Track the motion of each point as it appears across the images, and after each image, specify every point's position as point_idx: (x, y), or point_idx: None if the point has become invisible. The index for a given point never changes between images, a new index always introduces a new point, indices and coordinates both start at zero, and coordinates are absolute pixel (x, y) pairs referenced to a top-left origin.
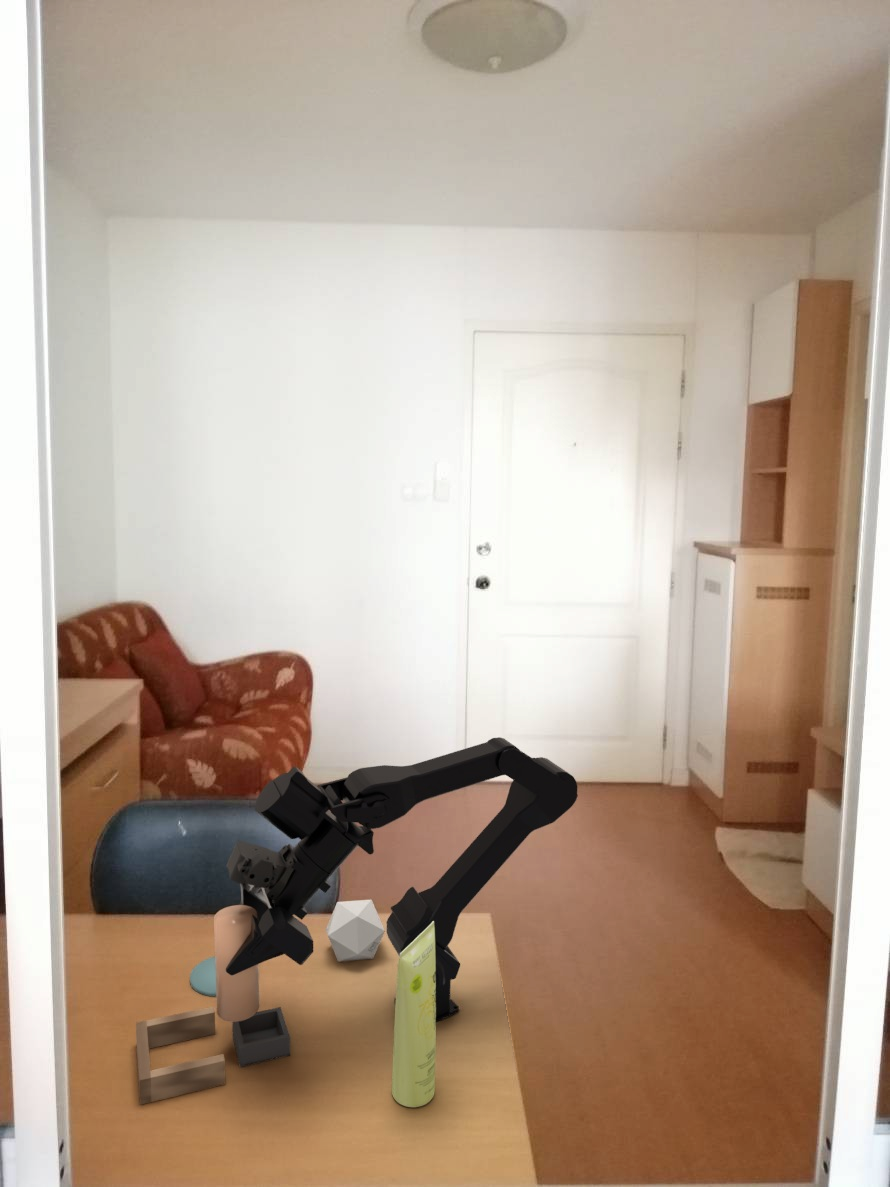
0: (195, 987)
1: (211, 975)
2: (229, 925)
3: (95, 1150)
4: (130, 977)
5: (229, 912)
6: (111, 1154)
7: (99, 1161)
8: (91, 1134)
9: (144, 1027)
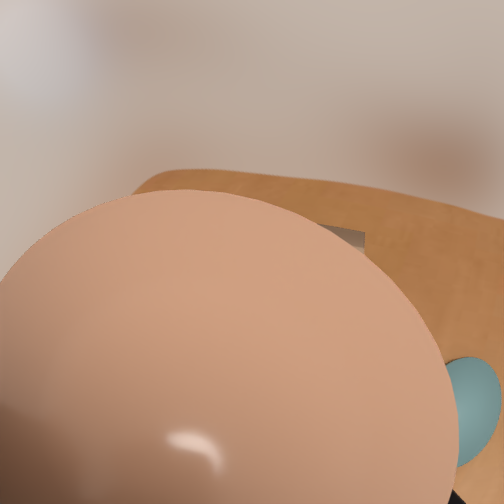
0: (450, 363)
1: (465, 393)
2: (13, 300)
3: (181, 178)
4: (496, 275)
5: (294, 449)
6: (164, 190)
7: (164, 180)
8: (207, 177)
9: (346, 241)
